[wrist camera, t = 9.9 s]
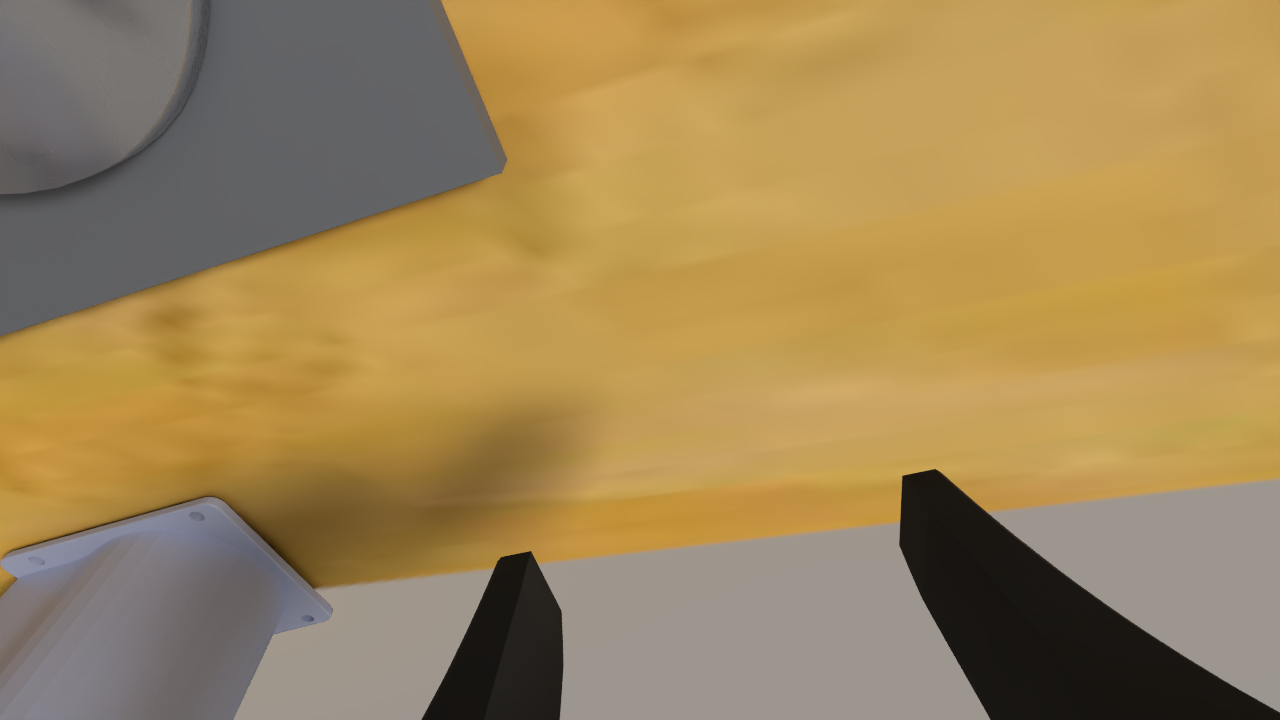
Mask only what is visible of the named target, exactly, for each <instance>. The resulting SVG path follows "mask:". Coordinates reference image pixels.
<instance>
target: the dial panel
mask: <svg viewBox="0 0 1280 720" xmlns="http://www.w3.org/2000/svg"><path fill="white" fill-rule="evenodd" d="M506 161H507V158H506V156H505V154H504V151H503V149H502V146H501V144H500V142H499V139H498V137H497V134H496V132H495V130H494V127H493V125H492V122H491V120H490V118H489V115H488V113H487V110H486V108H485V106H484V103H483V101H482V98H481V96H480V94H479V91H478V89H477V87H476V84H475V82H474V79H473V77H472V75H471V72H470V70H469V67H468V65H467V63H466V60H465V58H464V55H463V53H462V51H461V48H460V46H459V43H458V41H457V39H456V36H455V34H454V31H453V29H452V27H451V24H450V22H449V19H448V17H447V15H446V12H445V10H444V8H443V5H442V3H441V0H211V20H210V26H209V33H208V40H207V46H206V53H205V56H204V59H203V62H202V65H201V69H200V72H199V75H198V78H197V81H196V84H195V86H194V88H193V90H192V92H191V93H190V95H189V97H188V99H187V101H186V103H185V105H184V106H183V108H182V110H181V112H180V113H179V114H178V115H177V117H176V118H175V119H174V120H173V121H172V123H171V124H170V125H169V126H168V128H167V129H166V130H165V131H164V132H163V134H161V135H160V136H159V137H158V138H156V139H155V140H154V141H153V142H152V143H150V144H149V145H148V146H147V147H146V148H144V149H143V150H142V151H141V152H139V153H137V154H135V155H133V156H131V157H130V158H128V159H126V160H124V161H122V162H120V163H119V164H117V165H115V166H112V167H110V168H108V169H106V170H103V171H101V172H99V173H97V174H94V175H92V176H90V177H87V178H84V179H82V180H79V181H76V182H73V183H70V184H67V185H64V186H61V187H58V188H52V189H47V190H41V191H35V192H29V193H19V194H0V336H2V335H5V334H8V333H11V332H14V331H17V330H20V329H23V328H26V327H29V326H33V325H36V324H39V323H42V322H45V321H48V320H51V319H54V318H57V317H60V316H63V315H66V314H69V313H73V312H76V311H79V310H82V309H85V308H88V307H91V306H94V305H97V304H100V303H103V302H106V301H109V300H112V299H116V298H119V297H122V296H125V295H128V294H131V293H134V292H137V291H140V290H143V289H146V288H149V287H152V286H156V285H159V284H162V283H165V282H168V281H171V280H174V279H177V278H180V277H183V276H186V275H189V274H192V273H196V272H199V271H202V270H205V269H208V268H211V267H214V266H217V265H220V264H223V263H226V262H229V261H232V260H235V259H239V258H242V257H245V256H248V255H251V254H254V253H257V252H260V251H263V250H266V249H269V248H272V247H275V246H279V245H282V244H285V243H288V242H291V241H294V240H297V239H300V238H303V237H306V236H309V235H312V234H315V233H318V232H322V231H325V230H328V229H331V228H334V227H337V226H340V225H343V224H346V223H349V222H352V221H355V220H358V219H362V218H365V217H368V216H371V215H374V214H377V213H380V212H383V211H386V210H389V209H392V208H395V207H398V206H401V205H405V204H408V203H411V202H414V201H417V200H420V199H423V198H426V197H429V196H432V195H435V194H438V193H441V192H445V191H448V190H451V189H454V188H457V187H460V186H463V185H466V184H469V183H472V182H475V181H478V180H481V179H485V178H488V177H491V176H494V175H497V174H500V173H502V171H503V169H504V166H505V164H506Z"/></svg>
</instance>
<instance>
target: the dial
mask: <svg viewBox="0 0 1280 720" xmlns="http://www.w3.org/2000/svg"><path fill="white" fill-rule="evenodd" d="M210 20H211V0H0V194H19V193H29V192H35V191H41V190H47V189H52V188H58V187H61V186H64V185H67V184H70V183H73V182H76V181H79V180H82V179H84V178H87V177H90V176H92V175H94V174H97V173H99V172H101V171H103V170H106V169H108V168H110V167H112V166H115V165H117V164H119V163H120V162H122V161H124V160H126V159H128V158H130V157H131V156H133V155H135V154H137V153H139V152H141V151H142V150H143V149H144V148H146V147H147V146H148V145H149V144H150V143H152V142H153V141H154V140H155V139H156V138H158V137H159V136H160V135H161V134H163V132H164V131H165V130H166V129H167V128H168V126H169V125H170V124H171V123H172V121H173V120H174V119H175V118H176V117H177V115H178V114H179V113H180V112H181V110H182V108H183V106H184V105H185V103H186V101H187V99H188V97H189V95H190V93H191V92H192V90H193V88H194V86H195V84H196V81H197V78H198V75H199V72H200V69H201V65H202V62H203V59H204V56H205V53H206V46H207V40H208V33H209V26H210Z"/></svg>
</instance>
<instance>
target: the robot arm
mask: <svg viewBox="0 0 1280 720" xmlns="http://www.w3.org/2000/svg"><path fill="white" fill-rule="evenodd" d="M899 545H900V548H901V550H902V553H903V555H904V557H905V560H906V562H907V565H908V567H909V569H910V572H911V574H912V576H913V579H914V581H915V583H916V585H917V588H918V590H919V592H920V594H921V597H922V599H923V601H924V602H925V604H926V606H927V608H928V610H929V611H930V613H931V615H932V617H933V619H934V620H935V622H936V624H937V626H938V628H939V629H940V631H941V633H942V635H943V636H944V638H945V640H946V642H947V643H948V645H949V647H950V649H951V651H952V652H953V654H954V656H955V657H956V659H957V661H958V663H959V665H960V666H961V668H962V670H963V672H964V673H965V675H966V677H967V679H968V681H969V682H970V684H971V685H972V687H973V689H974V691H975V692H976V694H977V696H978V698H979V700H980V702H981V703H982V705H983V707H984V709H985V710H986V712H987V714H988V716H989V718H990V719H991V720H1280V712H1278V711H1276V710H1274V709H1273V708H1271V707H1269V706H1267V705H1265V704H1263V703H1262V702H1260V701H1258V700H1257V699H1255V698H1253V697H1251V696H1249V695H1248V694H1246V693H1244V692H1242V691H1241V690H1239V689H1237V688H1235V687H1233V686H1232V685H1230V684H1229V683H1227V682H1225V681H1223V680H1222V679H1220V678H1219V677H1217V676H1215V675H1214V674H1212V673H1210V672H1209V671H1207V670H1205V669H1204V668H1202V667H1201V666H1199V665H1197V664H1195V663H1194V662H1193V661H1191V660H1189V659H1188V658H1186V657H1184V656H1183V655H1181V654H1180V653H1178V652H1177V651H1175V650H1173V649H1172V648H1170V647H1169V646H1167V645H1166V644H1164V643H1163V642H1161V641H1159V640H1158V639H1156V638H1155V637H1153V636H1152V635H1150V634H1149V633H1147V632H1145V631H1144V630H1142V629H1141V628H1140V627H1138V626H1137V625H1135V624H1134V623H1132V622H1131V621H1129V620H1128V619H1126V618H1125V617H1123V616H1122V615H1120V614H1119V613H1118V612H1116V611H1115V610H1113V609H1112V608H1110V607H1109V606H1107V605H1106V604H1104V603H1103V602H1102V601H1101V600H1099V599H1098V598H1096V597H1095V596H1094V595H1092V594H1091V593H1089V592H1088V591H1087V590H1085V589H1084V588H1082V587H1081V586H1080V585H1078V584H1077V583H1075V582H1074V581H1073V580H1072V579H1070V578H1069V577H1067V576H1066V575H1065V574H1064V573H1062V572H1061V571H1059V570H1058V569H1057V568H1056V567H1054V566H1053V565H1052V564H1050V563H1049V562H1048V561H1047V560H1045V559H1044V558H1043V557H1041V556H1040V555H1039V554H1038V553H1036V552H1035V551H1034V550H1033V549H1031V548H1030V547H1029V546H1027V545H1026V544H1025V543H1024V542H1022V541H1021V540H1020V539H1019V538H1017V537H1016V536H1014V534H1012V533H1011V532H1010V531H1009V530H1007V529H1006V528H1005V527H1004V526H1003V525H1001V524H1000V523H999V522H998V521H997V520H995V519H994V518H993V517H992V516H991V515H989V514H988V513H987V512H986V511H985V510H983V509H982V508H981V507H980V506H979V505H978V504H976V503H975V502H974V501H973V500H972V499H971V498H969V497H968V496H967V495H966V494H965V493H964V492H963V491H961V490H960V489H959V488H958V487H957V486H956V485H955V484H953V483H952V482H951V481H950V480H949V479H948V478H947V477H945V476H944V475H943V474H942V473H941V472H939V471H938V470H936V469H934V470H929V471H924V472H919V473H914V474H909V475H904V476H903V477H902V499H901V520H900V543H899ZM0 564H1V567H2V568H3V569H4V570H6V571H7V572H9V573H10V574H12V575H13V576H15V577H16V578H18V579H17V580H16V581H15V582H14V583H13V584H12V585H11V586H10V588H9V589H8V590H7V591H6V592H5V593H4V594H3V595H2V596H1V597H0V720H233V719H234V716H235V715H236V713H237V710H238V708H239V706H240V704H241V702H242V700H243V698H244V695H245V693H246V691H247V689H248V687H249V685H250V682H251V680H252V678H253V676H254V674H255V672H256V670H257V667H258V665H259V663H260V661H261V659H262V657H263V655H264V653H265V650H266V648H267V646H268V644H269V642H270V640H271V638H272V636H273V634H277V633H280V632H284V631H288V630H292V629H296V628H300V627H304V626H308V625H312V624H316V623H320V622H324V621H327V620H328V619H329V618H330V617H331V614H332V612H333V608H332V607H331V606H330V605H329V604H328V603H327V602H326V601H325V600H324V599H323V598H322V597H321V596H320V595H319V594H318V593H317V592H316V591H315V590H314V589H313V588H312V587H311V586H310V585H309V584H308V583H307V582H306V581H305V580H304V579H303V578H302V577H301V576H300V575H299V574H298V573H297V572H296V571H295V570H294V569H293V568H292V567H291V566H290V565H289V564H287V563H286V562H285V561H284V560H283V559H282V558H281V557H280V556H279V555H278V554H277V553H276V552H275V551H274V550H273V549H272V548H271V547H270V546H269V545H268V544H267V543H266V542H265V541H264V540H263V539H262V538H261V537H260V536H259V535H258V534H257V533H256V532H255V531H254V530H253V529H252V528H251V527H250V526H249V525H248V524H247V523H245V522H244V521H243V520H242V519H241V518H240V517H239V516H238V515H237V514H236V513H235V512H234V511H233V510H232V509H231V508H230V507H229V506H228V505H227V504H226V503H225V502H224V501H222V500H221V499H218V498H216V497H204V498H201V499H197V500H194V501H190V502H186V503H183V504H179V505H176V506H172V507H169V508H165V509H162V510H158V511H154V512H151V513H147V514H144V515H140V516H137V517H133V518H129V519H126V520H122V521H119V522H115V523H112V524H108V525H104V526H101V527H97V528H94V529H90V530H87V531H83V532H80V533H76V534H72V535H69V536H65V537H62V538H58V539H55V540H51V541H47V542H44V543H40V544H37V545H33V546H30V547H26V548H23V549H19V550H15V551H12V552H9V553H7V554H6V555H5V556H4V558H3V559H2V560H1V561H0ZM562 679H563V636H562V613H561V609H560V608H559V605H558V603H557V601H556V599H555V598H554V596H553V594H552V592H551V590H550V588H549V586H548V584H547V582H546V580H545V578H544V576H543V574H542V572H541V570H540V568H539V566H538V564H537V562H536V560H535V558H534V556H533V554H532V552H531V551H529V552H524V553H520V554H515V555H510V556H505V557H501V558H500V559H499V561H498V562H497V564H496V567H495V569H494V571H493V574H492V576H491V578H490V581H489V583H488V585H487V588H486V590H485V592H484V594H483V597H482V599H481V601H480V603H479V606H478V608H477V610H476V612H475V614H474V617H473V619H472V621H471V623H470V626H469V628H468V630H467V632H466V634H465V636H464V638H463V640H462V642H461V644H460V647H459V648H458V650H457V652H456V655H455V657H454V659H453V661H452V663H451V665H450V667H449V669H448V671H447V673H446V675H445V677H444V679H443V681H442V683H441V685H440V686H439V688H438V690H437V692H436V694H435V696H434V698H433V699H432V701H431V703H430V705H429V707H428V709H427V711H426V713H425V714H424V716H423V718H422V720H559V719H560V707H561V693H562Z"/></svg>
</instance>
